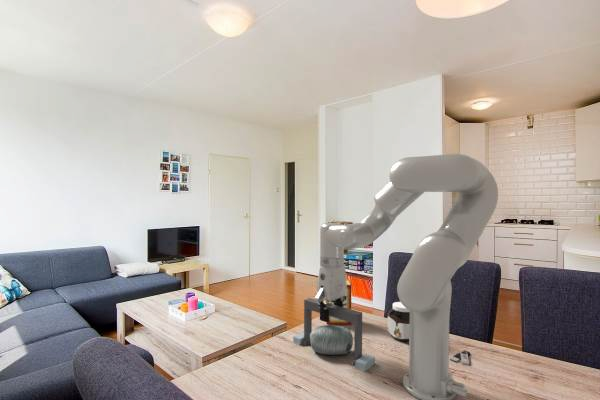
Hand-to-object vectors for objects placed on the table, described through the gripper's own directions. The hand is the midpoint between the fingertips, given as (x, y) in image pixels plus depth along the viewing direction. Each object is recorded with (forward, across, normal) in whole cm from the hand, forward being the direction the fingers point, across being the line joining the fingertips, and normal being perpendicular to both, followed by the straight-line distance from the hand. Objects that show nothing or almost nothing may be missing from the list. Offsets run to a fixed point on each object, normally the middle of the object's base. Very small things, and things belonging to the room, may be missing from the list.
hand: (331, 317), depth 100 cm
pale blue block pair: (+11, 0, 0) cm, 11 cm away
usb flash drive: (+12, +24, -33) cm, 43 cm away
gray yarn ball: (+11, 0, 0) cm, 11 cm away
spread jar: (+11, +27, -14) cm, 32 cm away
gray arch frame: (+11, 0, 0) cm, 11 cm away
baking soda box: (+11, +23, +13) cm, 29 cm away
